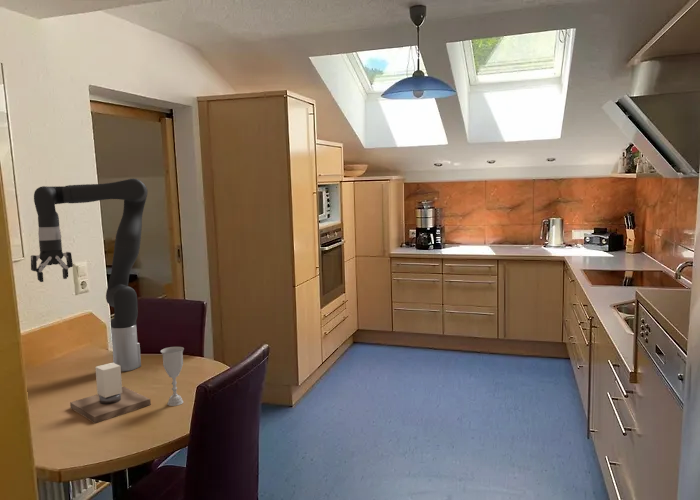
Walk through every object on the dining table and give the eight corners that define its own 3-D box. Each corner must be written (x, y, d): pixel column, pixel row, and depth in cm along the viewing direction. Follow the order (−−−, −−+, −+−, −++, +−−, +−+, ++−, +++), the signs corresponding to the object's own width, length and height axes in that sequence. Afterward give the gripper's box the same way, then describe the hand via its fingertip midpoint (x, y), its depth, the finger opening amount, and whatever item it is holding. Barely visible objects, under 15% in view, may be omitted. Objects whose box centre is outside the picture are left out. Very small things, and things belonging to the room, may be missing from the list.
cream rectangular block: (114, 388, 179) (112, 362, 178) (122, 392, 175) (120, 365, 174) (97, 393, 175) (95, 366, 174) (105, 397, 171) (103, 370, 170)
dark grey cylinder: (115, 395, 180) (113, 366, 179) (124, 400, 176) (122, 370, 175) (96, 401, 175) (93, 371, 174) (105, 406, 171) (102, 375, 170)
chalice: (165, 408, 173) (162, 354, 171) (162, 401, 179) (159, 348, 177) (188, 404, 176) (185, 350, 174) (184, 397, 182) (182, 345, 180)
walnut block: (124, 392, 188) (124, 386, 188) (150, 404, 176) (150, 398, 176) (70, 408, 175) (70, 402, 175) (94, 423, 163) (94, 416, 163)
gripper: (65, 236, 215) (68, 277, 217) (26, 239, 204) (29, 281, 206) (73, 237, 210) (76, 278, 212) (33, 240, 199) (36, 283, 201)
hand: (53, 280), depth 209 cm, fingers open, 8 cm apart
